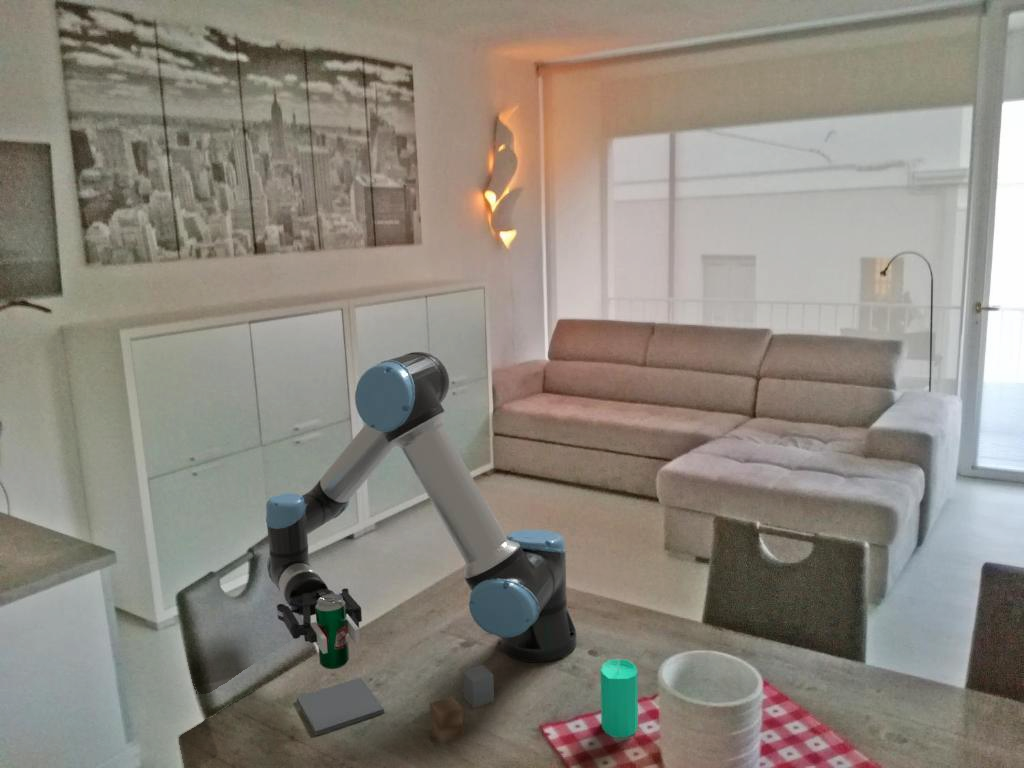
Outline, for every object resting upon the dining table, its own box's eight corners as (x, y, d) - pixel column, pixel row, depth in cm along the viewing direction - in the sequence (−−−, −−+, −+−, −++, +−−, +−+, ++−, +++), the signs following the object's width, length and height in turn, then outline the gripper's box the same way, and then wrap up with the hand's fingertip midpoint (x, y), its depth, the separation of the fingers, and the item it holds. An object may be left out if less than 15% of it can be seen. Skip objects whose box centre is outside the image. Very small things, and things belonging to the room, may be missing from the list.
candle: (614, 711, 141) (613, 647, 138) (644, 724, 137) (644, 658, 134) (594, 728, 136) (593, 662, 134) (625, 742, 132) (624, 674, 130)
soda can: (342, 671, 141) (337, 606, 138) (314, 669, 142) (309, 604, 139) (353, 656, 146) (349, 593, 143) (327, 654, 147) (322, 591, 144)
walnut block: (453, 722, 139) (451, 696, 138) (463, 735, 136) (461, 707, 135) (431, 730, 137) (429, 703, 136) (441, 743, 134) (439, 715, 133)
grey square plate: (361, 681, 153) (360, 677, 153) (384, 712, 143) (383, 708, 143) (297, 701, 147) (296, 697, 147) (316, 735, 137) (315, 731, 137)
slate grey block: (483, 690, 149) (482, 665, 148) (494, 700, 145) (493, 675, 144) (464, 697, 147) (462, 671, 146) (474, 707, 143) (472, 681, 142)
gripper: (350, 596, 163) (393, 647, 143) (257, 619, 154) (289, 677, 134) (347, 561, 161) (390, 607, 141) (254, 582, 153) (285, 634, 133)
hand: (341, 641), depth 138 cm, fingers closed on soda can, 5 cm apart
